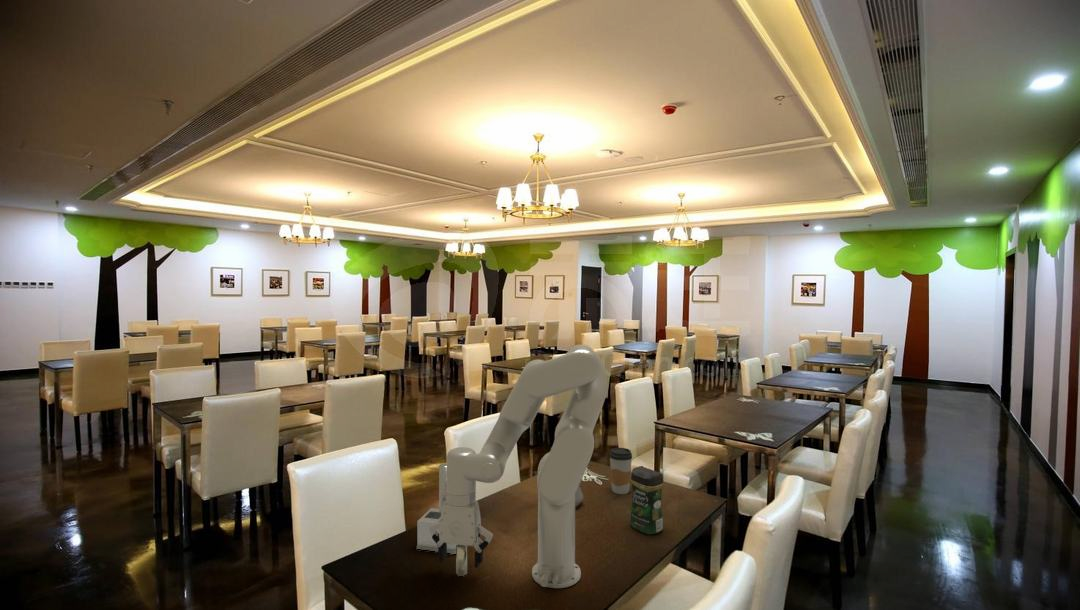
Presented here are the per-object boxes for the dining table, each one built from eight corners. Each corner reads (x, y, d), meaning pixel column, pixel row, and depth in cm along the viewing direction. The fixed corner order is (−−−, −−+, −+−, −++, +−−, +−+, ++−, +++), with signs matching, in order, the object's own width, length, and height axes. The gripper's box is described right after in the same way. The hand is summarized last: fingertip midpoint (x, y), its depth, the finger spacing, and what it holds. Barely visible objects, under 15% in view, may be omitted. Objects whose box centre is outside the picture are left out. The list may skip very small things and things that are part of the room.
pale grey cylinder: (464, 577, 130) (464, 546, 130) (454, 575, 131) (454, 545, 131) (468, 571, 133) (468, 541, 133) (458, 570, 134) (458, 540, 133)
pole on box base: (456, 554, 141) (456, 483, 141) (416, 549, 144) (416, 479, 144) (475, 530, 156) (475, 465, 156) (438, 526, 159) (438, 462, 158)
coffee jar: (626, 526, 159) (626, 467, 158) (642, 519, 164) (643, 462, 163) (650, 538, 151) (650, 476, 151) (667, 530, 156) (667, 470, 156)
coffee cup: (635, 489, 188) (635, 449, 188) (626, 497, 181) (627, 455, 181) (614, 485, 193) (614, 445, 192) (605, 492, 186) (605, 451, 185)
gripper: (423, 499, 130) (423, 565, 130) (488, 506, 126) (487, 575, 126) (436, 488, 137) (435, 551, 138) (497, 495, 133) (496, 559, 134)
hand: (460, 562), depth 132 cm, fingers open, 9 cm apart
